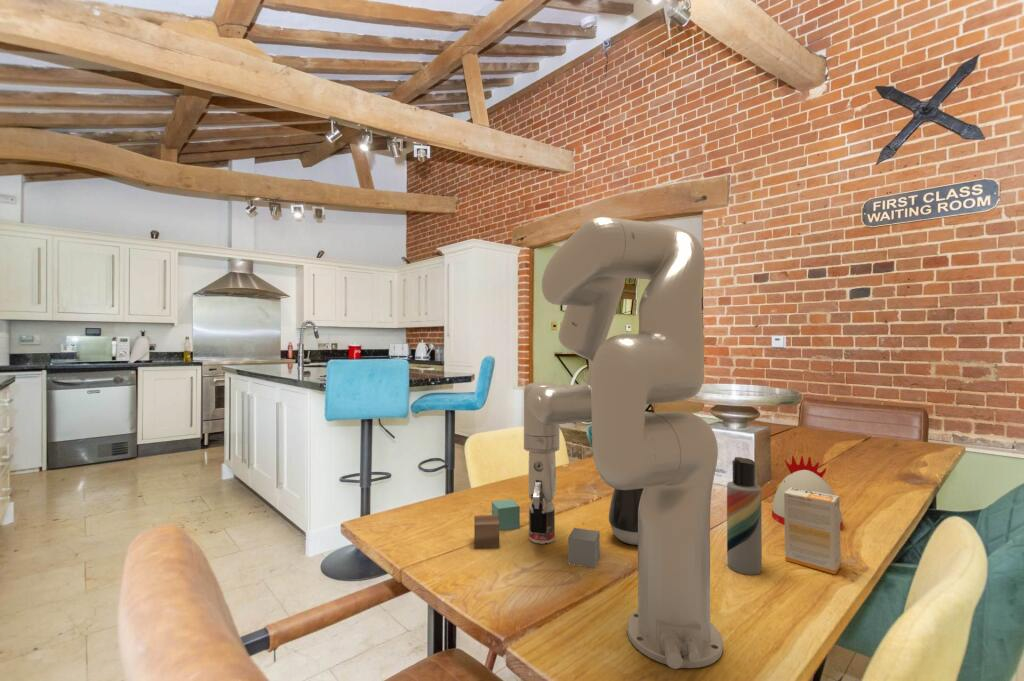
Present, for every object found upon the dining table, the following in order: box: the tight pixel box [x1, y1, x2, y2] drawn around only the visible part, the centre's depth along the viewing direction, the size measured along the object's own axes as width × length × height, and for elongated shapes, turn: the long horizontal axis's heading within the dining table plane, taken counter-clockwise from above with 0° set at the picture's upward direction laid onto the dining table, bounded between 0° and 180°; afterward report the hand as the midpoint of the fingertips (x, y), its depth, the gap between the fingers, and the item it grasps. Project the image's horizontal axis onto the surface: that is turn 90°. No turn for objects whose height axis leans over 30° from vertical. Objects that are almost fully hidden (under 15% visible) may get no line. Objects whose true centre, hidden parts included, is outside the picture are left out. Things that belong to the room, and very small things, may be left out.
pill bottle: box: [528, 496, 556, 545], centre depth 99 cm, size 5×5×10 cm
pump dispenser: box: [608, 488, 644, 546], centre depth 99 cm, size 10×10×15 cm
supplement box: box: [784, 487, 842, 575], centre depth 88 cm, size 8×5×13 cm, turn 44°
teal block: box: [491, 498, 521, 532], centre depth 107 cm, size 5×5×5 cm
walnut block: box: [473, 514, 500, 550], centre depth 98 cm, size 5×5×5 cm
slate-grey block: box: [567, 527, 601, 569], centre depth 90 cm, size 5×5×5 cm
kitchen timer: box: [771, 455, 844, 531], centre depth 110 cm, size 14×14×15 cm
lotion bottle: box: [726, 456, 763, 575], centre depth 87 cm, size 6×6×20 cm
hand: (541, 522), depth 100 cm, fingers open, 9 cm apart
